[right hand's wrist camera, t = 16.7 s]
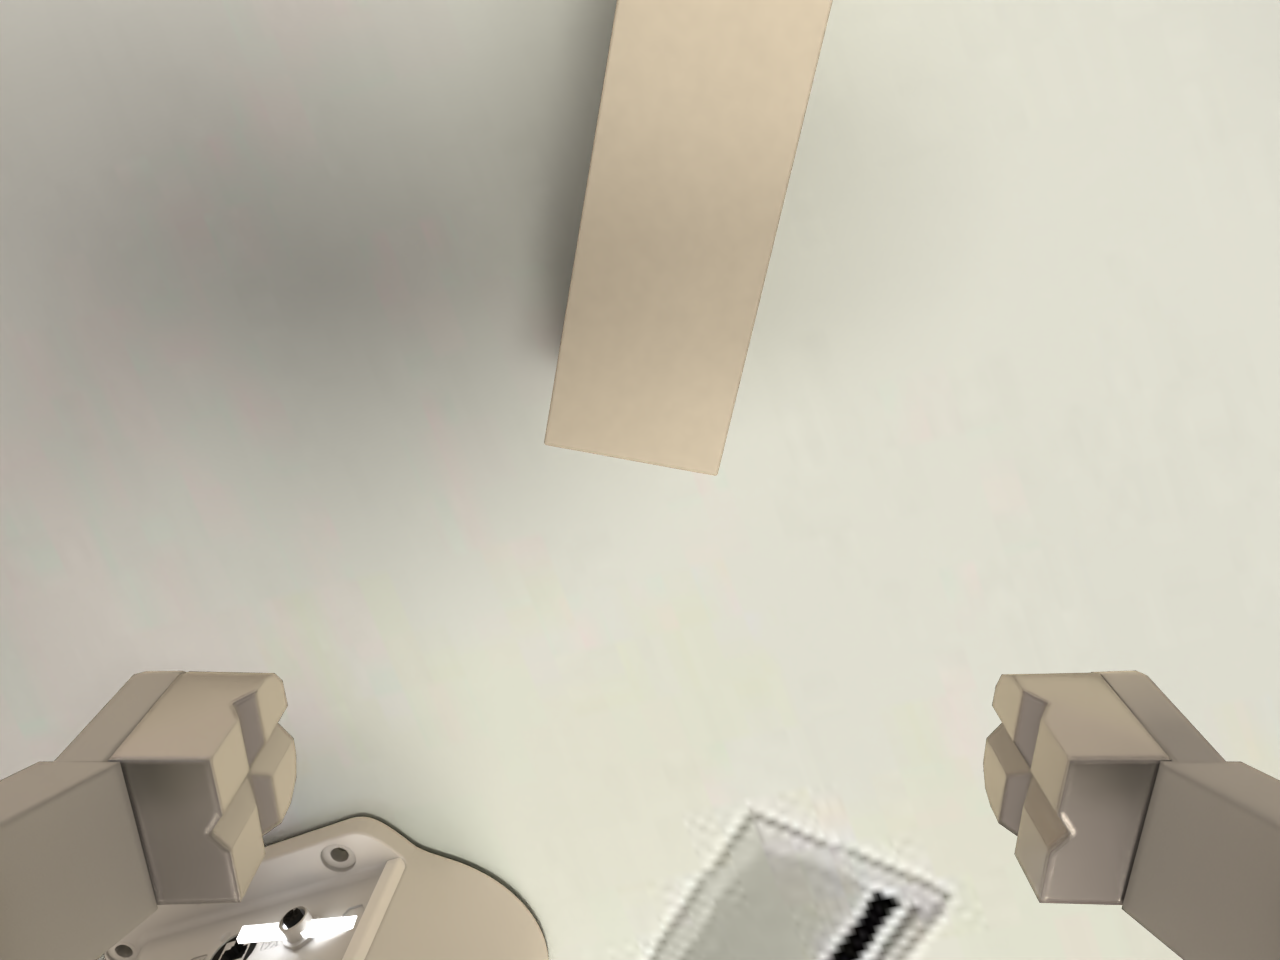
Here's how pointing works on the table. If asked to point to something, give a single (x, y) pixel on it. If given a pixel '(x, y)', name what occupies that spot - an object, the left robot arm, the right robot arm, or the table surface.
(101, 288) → the table surface
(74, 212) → the table surface
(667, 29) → the bar
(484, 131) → the table surface
